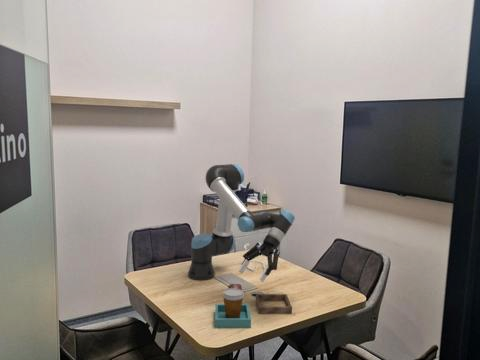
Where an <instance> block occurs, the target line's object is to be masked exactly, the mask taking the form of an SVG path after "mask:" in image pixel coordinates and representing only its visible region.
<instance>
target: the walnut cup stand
mask: <svg viewBox="0 0 480 360" xmlns="http://www.w3.org/2000/svg"><path fill="white" fill-rule="evenodd" d="M287 294H288V293H265V294H264V293H255V303H256V309H257V312H258V314H259V315H264V314H265V315H267V314H268V315H269V314H270V315H275V314H276V315H279V314H281V315H283V314H284V315H286V314H293V307H292V304H291V301H290V299H289V297H288V295H287ZM261 302H284V304H285V306H278V305H277V306H273V305H272V306H264V305H263V306H262V305H261Z"/></svg>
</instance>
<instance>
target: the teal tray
mask: <svg viewBox="0 0 480 360" xmlns="http://www.w3.org/2000/svg"><path fill="white" fill-rule="evenodd" d="M214 309H215V310H214V328H215V329H216V328H217V329H219V328H222V329H223V328H225V329H226V328H234V329H235V328H237V329H238V328H239V329H241V328H243V329H244V328H246V329H247V328H252V317H251V311H250V305H249V303H242V306H241V313H240V318H226V315H225V306H224V303H216V304H215V306H214Z"/></svg>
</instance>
